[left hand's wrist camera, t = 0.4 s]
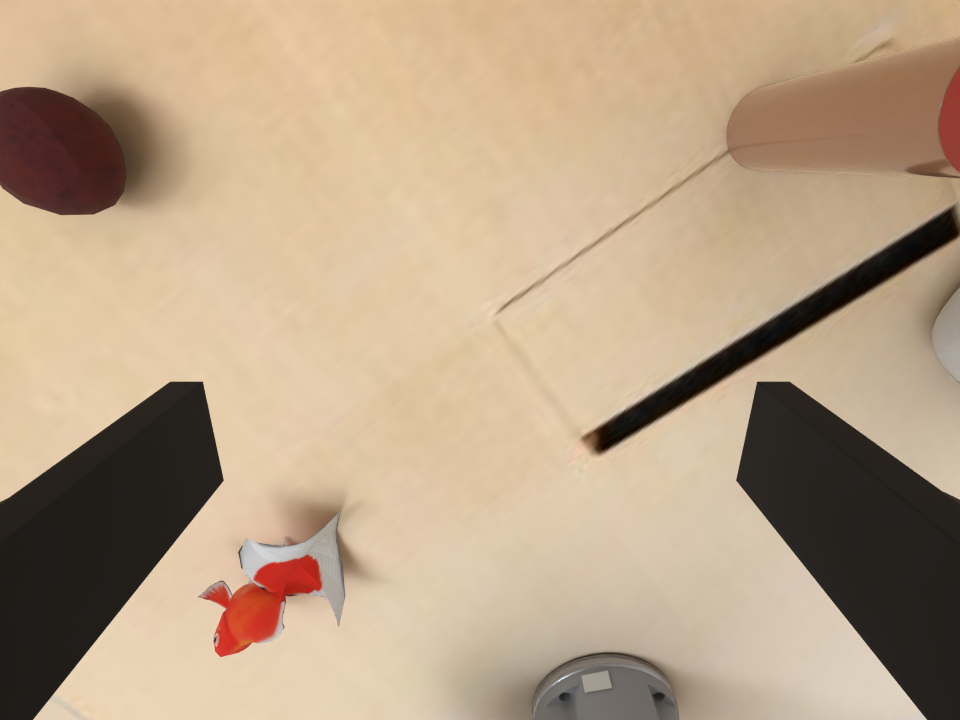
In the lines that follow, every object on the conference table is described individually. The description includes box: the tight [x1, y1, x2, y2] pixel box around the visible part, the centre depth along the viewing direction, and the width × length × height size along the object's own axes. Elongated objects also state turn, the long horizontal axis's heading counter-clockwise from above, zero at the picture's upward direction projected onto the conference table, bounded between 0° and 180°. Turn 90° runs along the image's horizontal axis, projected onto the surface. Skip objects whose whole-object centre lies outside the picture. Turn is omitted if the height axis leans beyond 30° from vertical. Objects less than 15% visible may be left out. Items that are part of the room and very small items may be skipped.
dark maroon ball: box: [0, 87, 126, 215], centre depth 33 cm, size 7×8×7 cm
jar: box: [727, 36, 960, 178], centre depth 27 cm, size 5×5×20 cm
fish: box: [199, 512, 345, 657], centre depth 45 cm, size 11×16×10 cm
